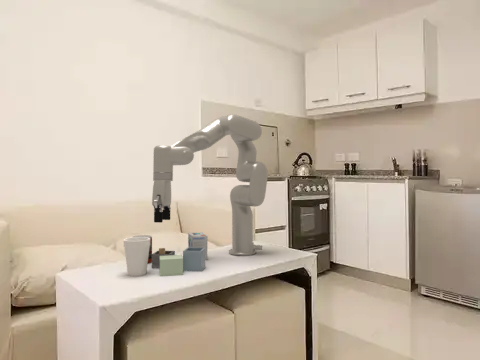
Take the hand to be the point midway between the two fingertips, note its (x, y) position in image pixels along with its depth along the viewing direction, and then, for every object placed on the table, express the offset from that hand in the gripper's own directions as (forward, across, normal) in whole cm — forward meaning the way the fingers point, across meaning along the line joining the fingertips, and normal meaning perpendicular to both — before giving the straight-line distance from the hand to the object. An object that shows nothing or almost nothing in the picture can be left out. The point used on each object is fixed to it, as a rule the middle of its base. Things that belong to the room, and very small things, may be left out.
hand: (162, 221), depth 145 cm
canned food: (+18, -7, -10) cm, 22 cm away
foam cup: (+19, +11, -5) cm, 23 cm away
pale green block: (+18, +9, +7) cm, 22 cm away
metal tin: (+18, -1, +1) cm, 18 cm away
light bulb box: (+18, -17, +11) cm, 27 cm away
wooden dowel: (+18, 0, 0) cm, 18 cm away
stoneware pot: (+18, +2, +14) cm, 23 cm away
